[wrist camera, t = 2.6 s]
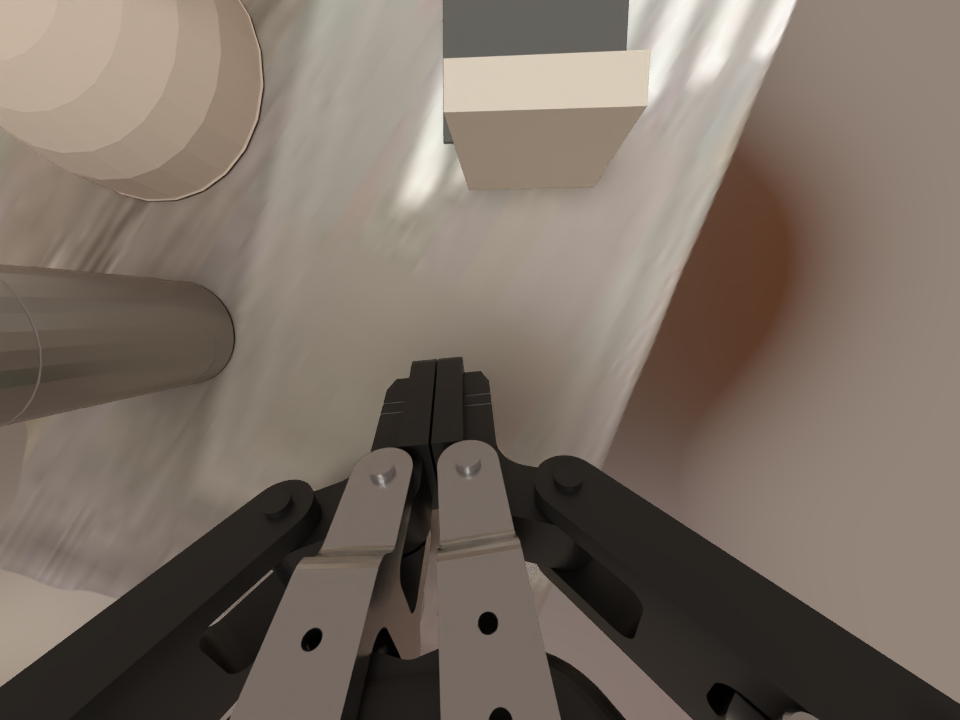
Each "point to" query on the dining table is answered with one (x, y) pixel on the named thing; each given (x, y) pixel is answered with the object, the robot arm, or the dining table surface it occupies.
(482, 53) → the mat
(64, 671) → the robot arm
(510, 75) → the tile
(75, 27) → the kettle
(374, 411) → the dining table surface
